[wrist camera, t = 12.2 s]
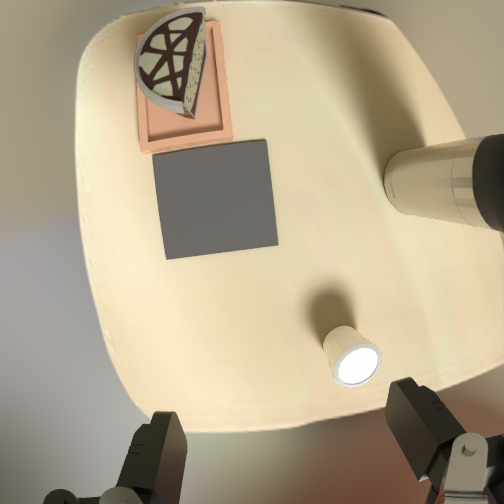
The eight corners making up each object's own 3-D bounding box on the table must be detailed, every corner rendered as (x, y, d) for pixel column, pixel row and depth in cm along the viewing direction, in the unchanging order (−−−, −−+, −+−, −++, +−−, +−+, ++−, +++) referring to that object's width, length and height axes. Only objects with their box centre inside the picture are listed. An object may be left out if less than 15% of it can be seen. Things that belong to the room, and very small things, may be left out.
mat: (266, 140, 35) (266, 140, 34) (277, 244, 37) (278, 245, 37) (153, 156, 34) (152, 156, 34) (167, 259, 37) (166, 259, 36)
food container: (163, 43, 30) (146, 4, 21) (209, 45, 31) (204, 3, 21) (145, 128, 33) (116, 106, 23) (193, 130, 33) (180, 107, 23)
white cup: (320, 323, 40) (336, 347, 33) (364, 319, 40) (386, 340, 33) (316, 365, 41) (330, 392, 34) (359, 359, 42) (377, 383, 35)
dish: (220, 27, 31) (219, 20, 29) (232, 140, 34) (233, 137, 32) (140, 41, 31) (136, 34, 29) (145, 154, 34) (140, 151, 32)
